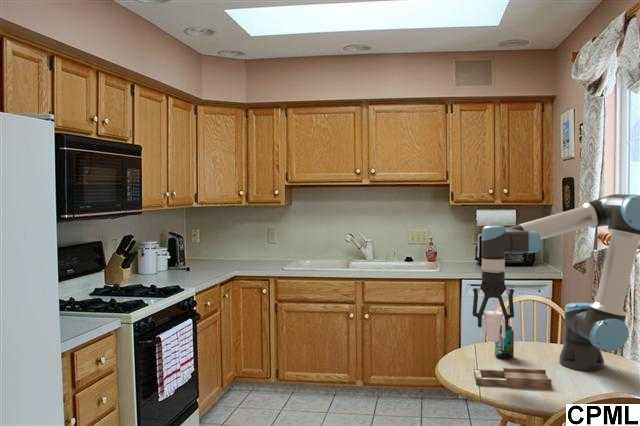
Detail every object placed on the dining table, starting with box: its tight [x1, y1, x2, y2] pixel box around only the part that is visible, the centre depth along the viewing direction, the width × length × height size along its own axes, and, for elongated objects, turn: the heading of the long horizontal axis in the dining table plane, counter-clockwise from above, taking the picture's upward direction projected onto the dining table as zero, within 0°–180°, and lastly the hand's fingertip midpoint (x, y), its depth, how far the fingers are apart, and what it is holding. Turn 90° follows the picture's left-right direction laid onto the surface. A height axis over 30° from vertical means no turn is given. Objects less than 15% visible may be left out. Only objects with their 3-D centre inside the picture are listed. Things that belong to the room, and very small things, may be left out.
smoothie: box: [482, 300, 504, 343], centre depth 189 cm, size 6×6×14 cm
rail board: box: [473, 367, 552, 390], centre depth 189 cm, size 24×10×3 cm, turn 78°
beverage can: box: [494, 324, 515, 360], centre depth 215 cm, size 7×7×12 cm
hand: (492, 336), depth 189 cm, fingers closed on smoothie, 6 cm apart
